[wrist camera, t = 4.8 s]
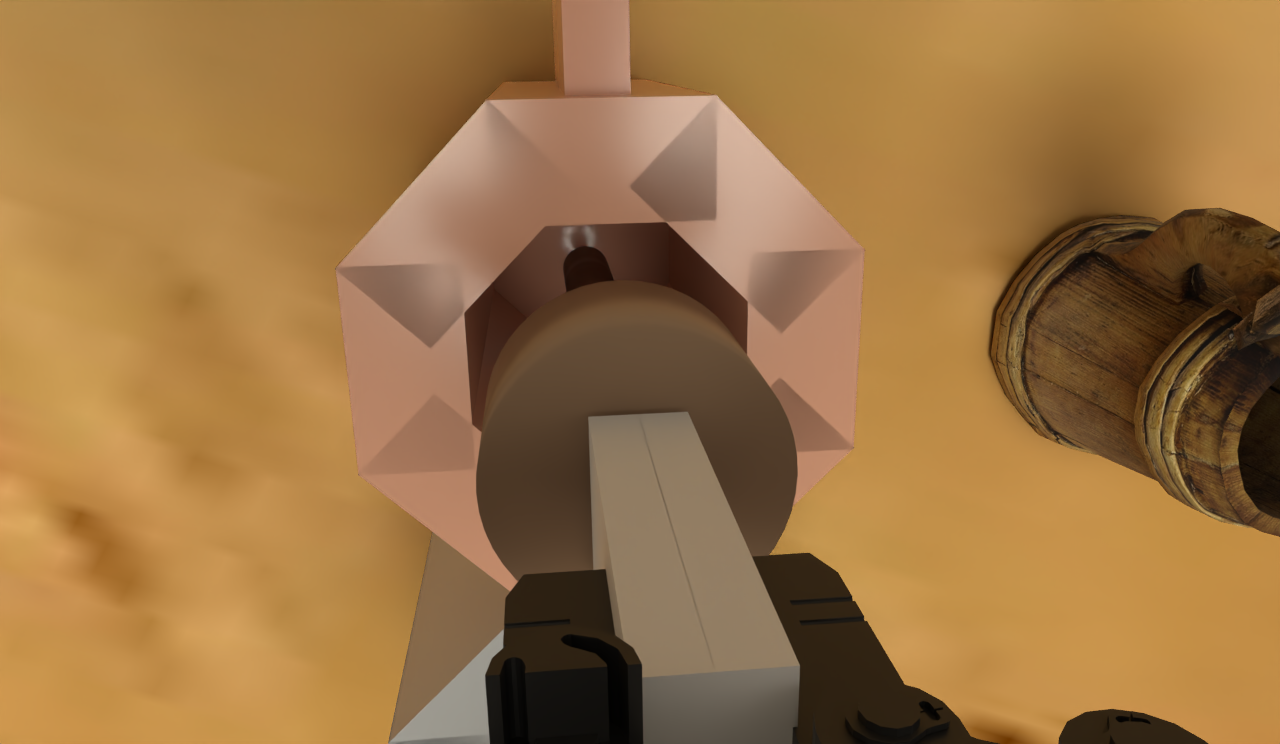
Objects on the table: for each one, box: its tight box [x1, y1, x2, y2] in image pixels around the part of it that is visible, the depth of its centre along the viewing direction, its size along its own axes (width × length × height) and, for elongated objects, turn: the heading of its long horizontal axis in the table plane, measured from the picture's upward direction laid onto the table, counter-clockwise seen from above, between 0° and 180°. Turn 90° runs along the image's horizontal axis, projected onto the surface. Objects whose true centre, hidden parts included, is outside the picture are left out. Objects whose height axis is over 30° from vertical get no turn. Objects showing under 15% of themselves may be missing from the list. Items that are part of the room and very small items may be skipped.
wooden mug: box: [991, 208, 1280, 537], centre depth 28 cm, size 9×14×18 cm, turn 22°
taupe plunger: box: [476, 246, 798, 581], centre depth 23 cm, size 5×5×16 cm
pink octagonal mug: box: [335, 0, 865, 591], centre depth 27 cm, size 14×11×14 cm
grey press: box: [388, 532, 510, 744], centre depth 32 cm, size 14×11×14 cm
